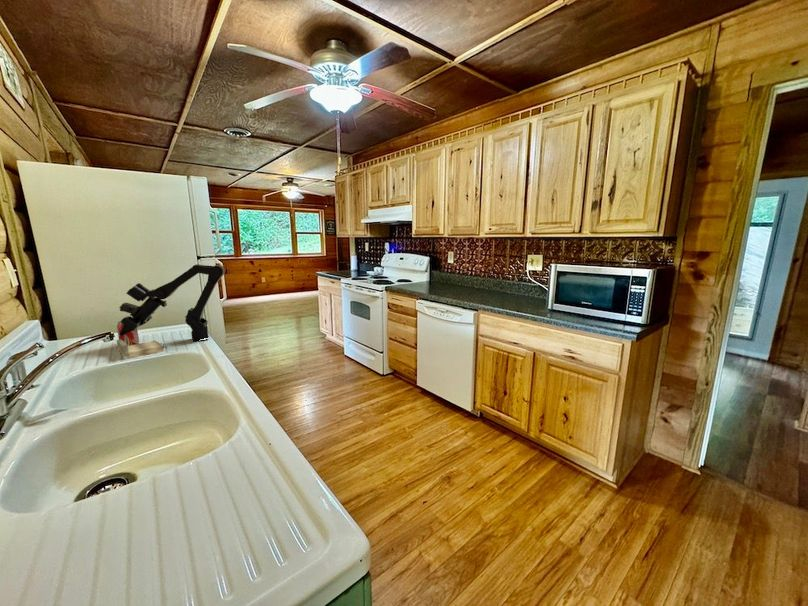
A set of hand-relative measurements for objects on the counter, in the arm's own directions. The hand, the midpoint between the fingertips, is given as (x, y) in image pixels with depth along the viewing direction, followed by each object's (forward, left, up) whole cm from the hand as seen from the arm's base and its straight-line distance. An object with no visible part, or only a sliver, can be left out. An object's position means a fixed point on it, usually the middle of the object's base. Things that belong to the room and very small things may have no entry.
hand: (124, 333), depth 152 cm
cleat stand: (-9, +13, -7) cm, 17 cm away
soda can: (-1, 0, -7) cm, 7 cm away
